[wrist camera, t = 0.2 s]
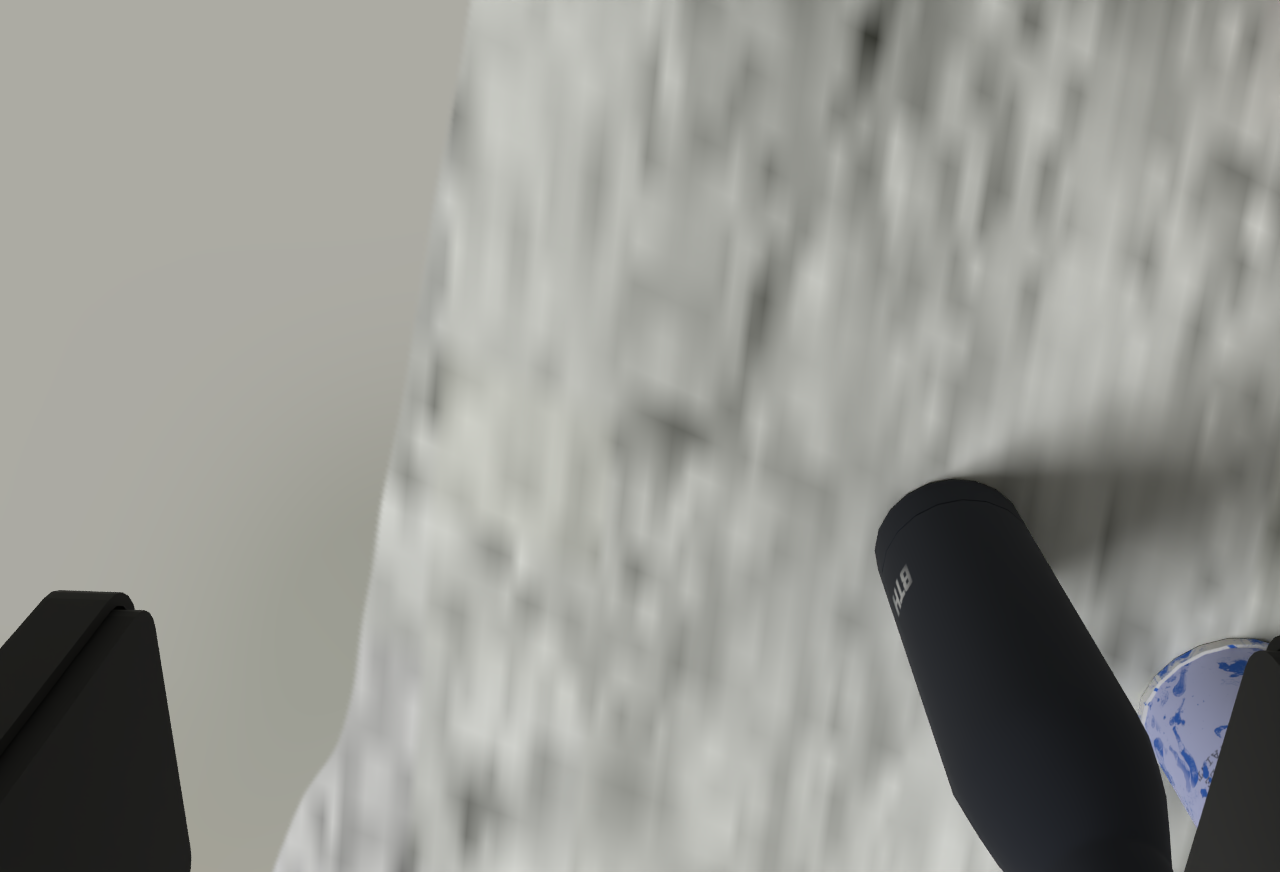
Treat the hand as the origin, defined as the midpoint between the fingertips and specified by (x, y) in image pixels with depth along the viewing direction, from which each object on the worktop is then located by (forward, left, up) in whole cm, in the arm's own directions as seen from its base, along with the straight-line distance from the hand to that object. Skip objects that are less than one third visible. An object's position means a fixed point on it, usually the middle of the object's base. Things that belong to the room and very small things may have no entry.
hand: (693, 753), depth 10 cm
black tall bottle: (+18, +13, -37) cm, 43 cm away
